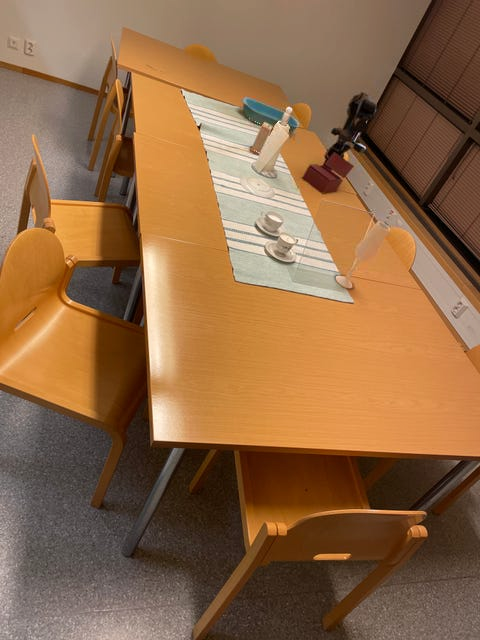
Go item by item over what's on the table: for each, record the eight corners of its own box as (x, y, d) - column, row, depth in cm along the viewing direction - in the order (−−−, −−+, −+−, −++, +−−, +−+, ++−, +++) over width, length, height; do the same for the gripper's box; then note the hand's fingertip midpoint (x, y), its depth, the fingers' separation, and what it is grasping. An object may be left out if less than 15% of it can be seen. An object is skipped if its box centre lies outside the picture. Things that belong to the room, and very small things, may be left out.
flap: (324, 163, 237) (324, 164, 237) (343, 178, 233) (344, 178, 233) (334, 151, 236) (334, 152, 236) (353, 165, 231) (354, 166, 232)
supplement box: (259, 155, 228) (271, 129, 220) (250, 150, 228) (261, 125, 220) (261, 150, 235) (273, 125, 227) (252, 146, 234) (264, 121, 227)
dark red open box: (317, 176, 241) (324, 163, 237) (336, 191, 237) (344, 178, 233) (302, 177, 230) (309, 164, 226) (322, 193, 226) (329, 179, 222)
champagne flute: (349, 290, 163) (389, 234, 149) (333, 279, 165) (372, 222, 151) (354, 284, 169) (394, 229, 155) (339, 273, 170) (377, 217, 156)
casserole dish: (242, 120, 260) (247, 107, 256) (234, 104, 275) (239, 92, 271) (298, 141, 275) (304, 129, 271) (288, 125, 291) (293, 114, 287)
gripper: (333, 115, 225) (317, 145, 234) (363, 136, 219) (345, 166, 228) (344, 117, 233) (328, 146, 242) (373, 137, 227) (356, 166, 236)
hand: (339, 156), depth 237 cm, fingers closed
